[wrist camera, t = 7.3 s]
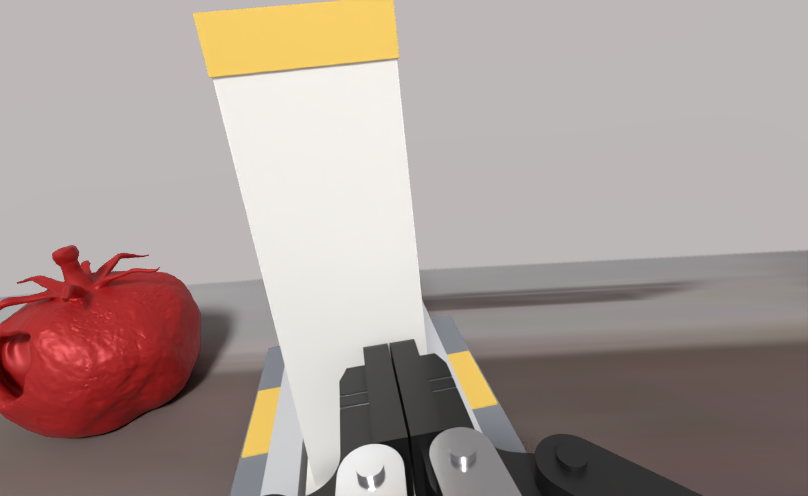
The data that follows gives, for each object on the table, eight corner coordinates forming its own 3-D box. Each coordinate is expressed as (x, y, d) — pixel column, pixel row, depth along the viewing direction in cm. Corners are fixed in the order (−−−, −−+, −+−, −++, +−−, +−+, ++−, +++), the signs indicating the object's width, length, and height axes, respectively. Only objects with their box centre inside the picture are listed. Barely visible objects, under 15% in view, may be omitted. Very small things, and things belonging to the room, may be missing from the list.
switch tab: (451, 496, 14) (405, -7, 9) (314, 528, 13) (177, 12, 8) (424, 405, 18) (382, 29, 13) (318, 427, 17) (229, 44, 12)
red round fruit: (209, 331, 30) (174, 209, 27) (222, 409, 22) (173, 245, 19) (42, 381, 26) (-22, 243, 23) (-23, 502, 17) (-137, 310, 14)
